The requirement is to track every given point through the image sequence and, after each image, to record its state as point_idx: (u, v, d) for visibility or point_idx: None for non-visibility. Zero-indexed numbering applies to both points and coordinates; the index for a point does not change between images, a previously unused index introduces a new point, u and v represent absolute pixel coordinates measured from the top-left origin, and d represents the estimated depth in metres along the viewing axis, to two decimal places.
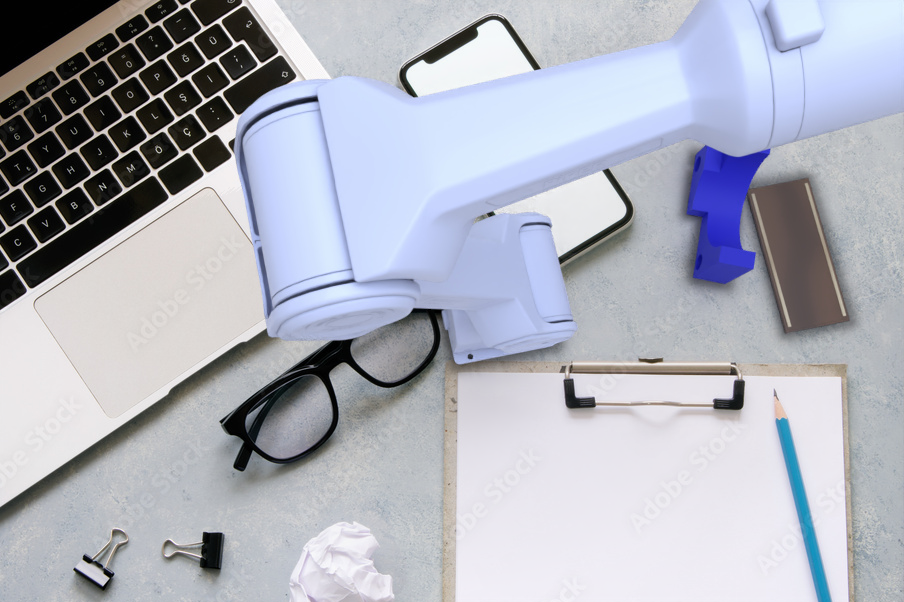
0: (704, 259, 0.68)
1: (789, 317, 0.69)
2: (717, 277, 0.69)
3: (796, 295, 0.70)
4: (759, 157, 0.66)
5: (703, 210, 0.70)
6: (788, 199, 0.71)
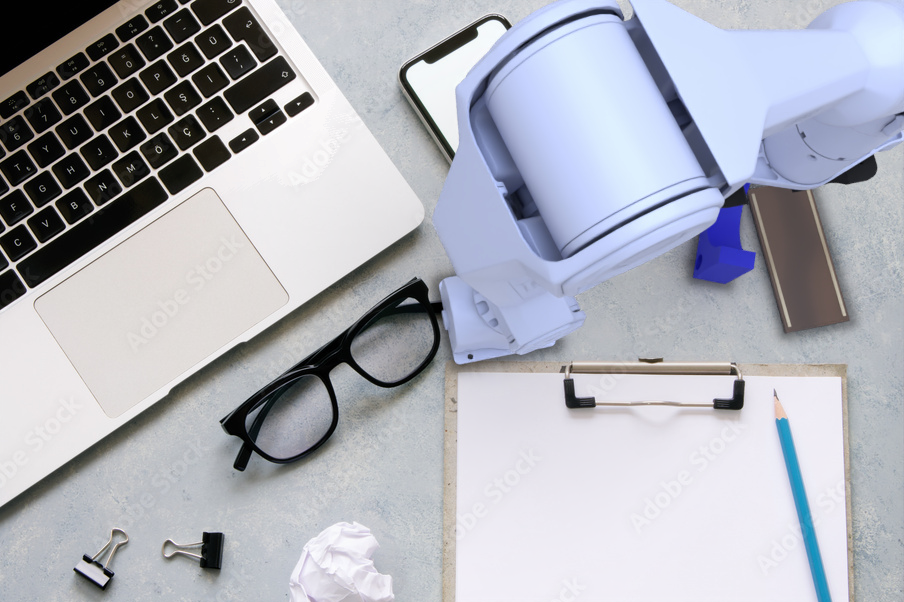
0: (704, 259, 0.68)
1: (789, 317, 0.69)
2: (717, 277, 0.69)
3: (796, 295, 0.70)
4: None
5: None
6: (788, 199, 0.71)
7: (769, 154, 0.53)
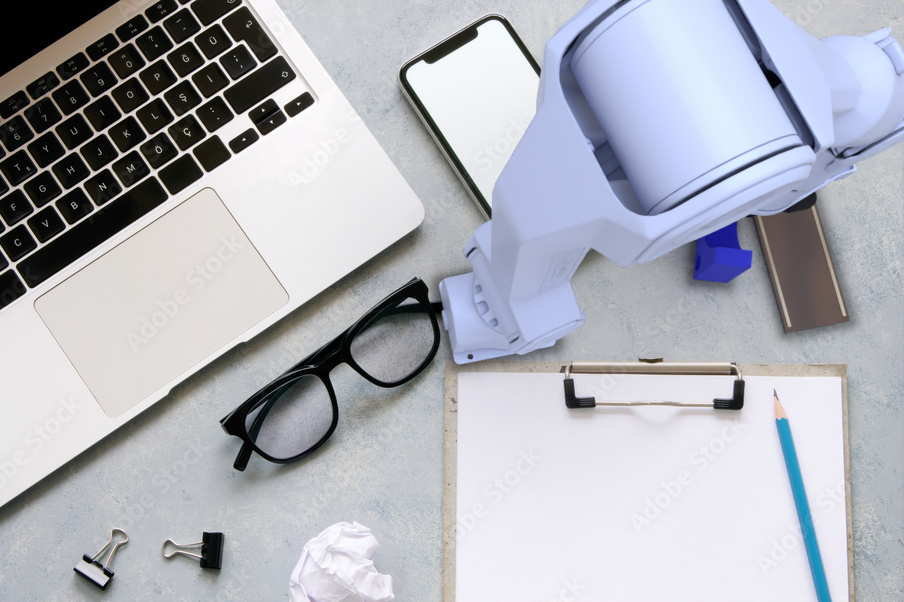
0: (702, 260, 0.68)
1: (789, 317, 0.69)
2: (717, 277, 0.69)
3: (796, 295, 0.70)
4: None
5: None
6: None
7: None
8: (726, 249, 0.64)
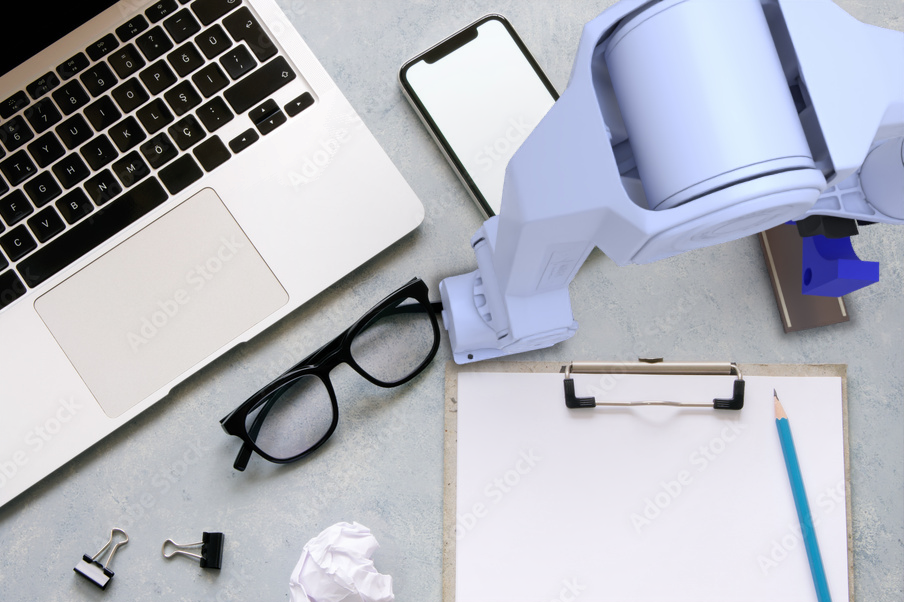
0: (815, 273, 0.61)
1: (789, 317, 0.69)
2: (831, 292, 0.61)
3: (796, 295, 0.70)
4: None
5: None
6: None
7: (866, 189, 0.52)
8: (849, 261, 0.57)
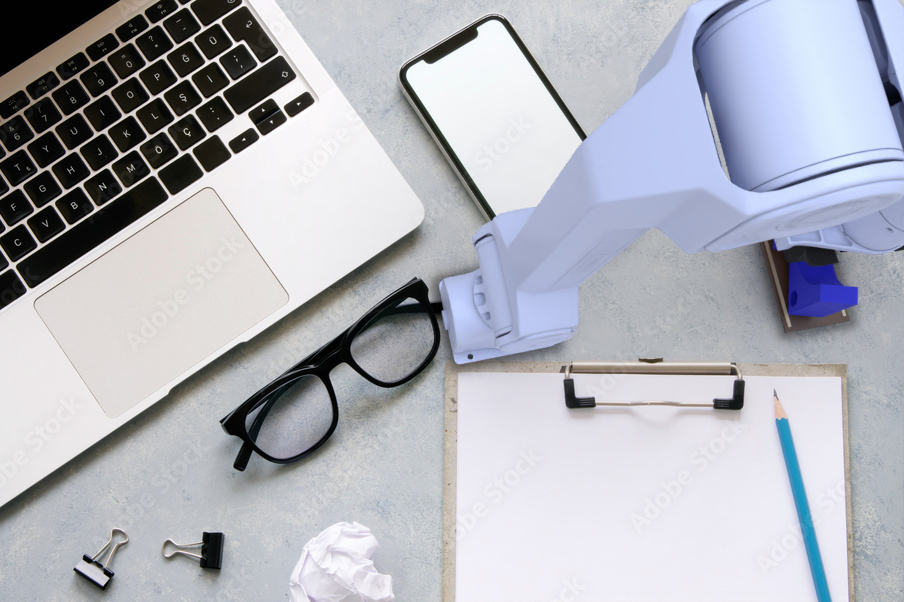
0: (800, 296, 0.66)
1: (789, 317, 0.69)
2: (815, 313, 0.67)
3: None
4: None
5: None
6: None
7: (844, 222, 0.58)
8: (830, 286, 0.63)
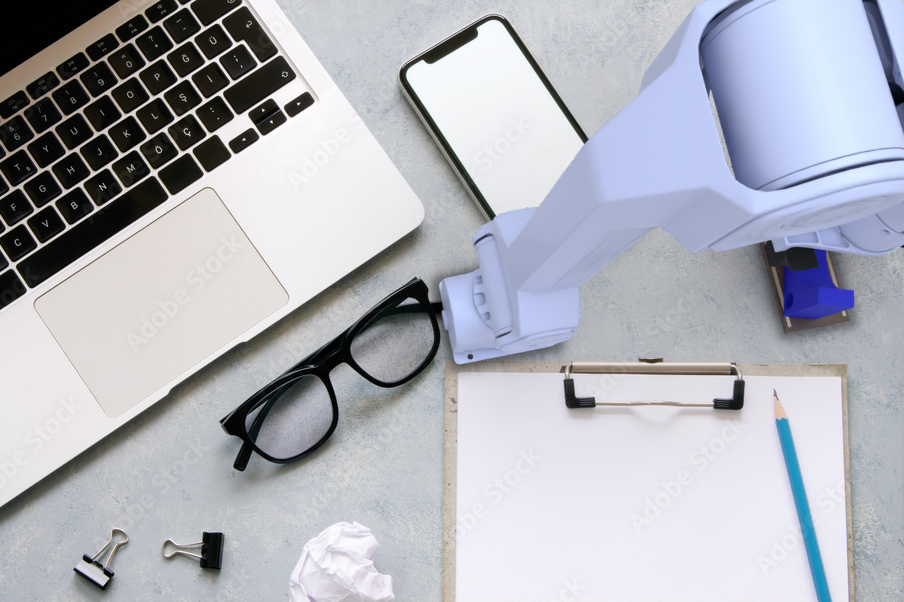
0: (796, 298, 0.67)
1: (789, 317, 0.69)
2: (810, 315, 0.68)
3: None
4: None
5: None
6: None
7: (841, 224, 0.58)
8: (828, 289, 0.64)
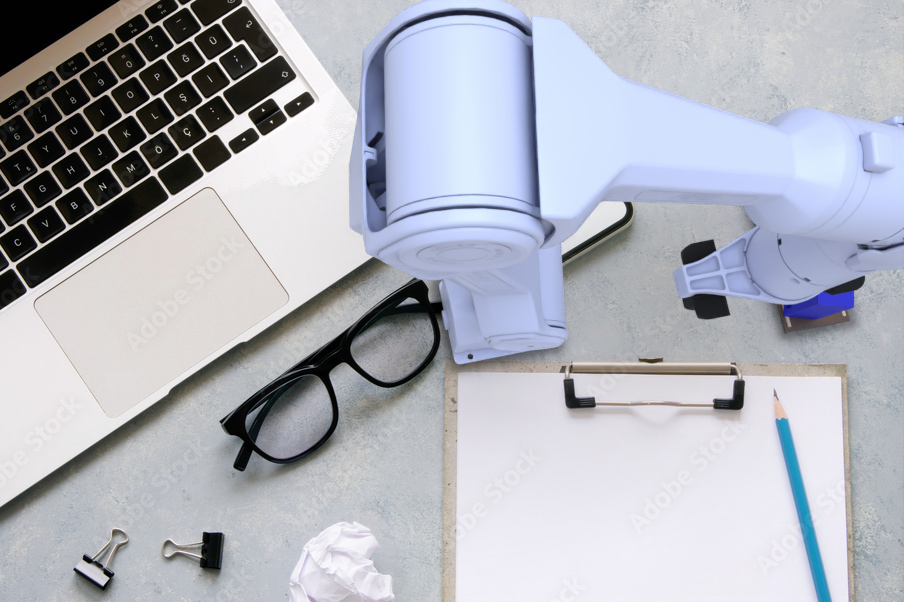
0: None
1: (789, 317, 0.69)
2: (810, 315, 0.68)
3: None
4: None
5: None
6: None
7: (751, 269, 0.51)
8: None
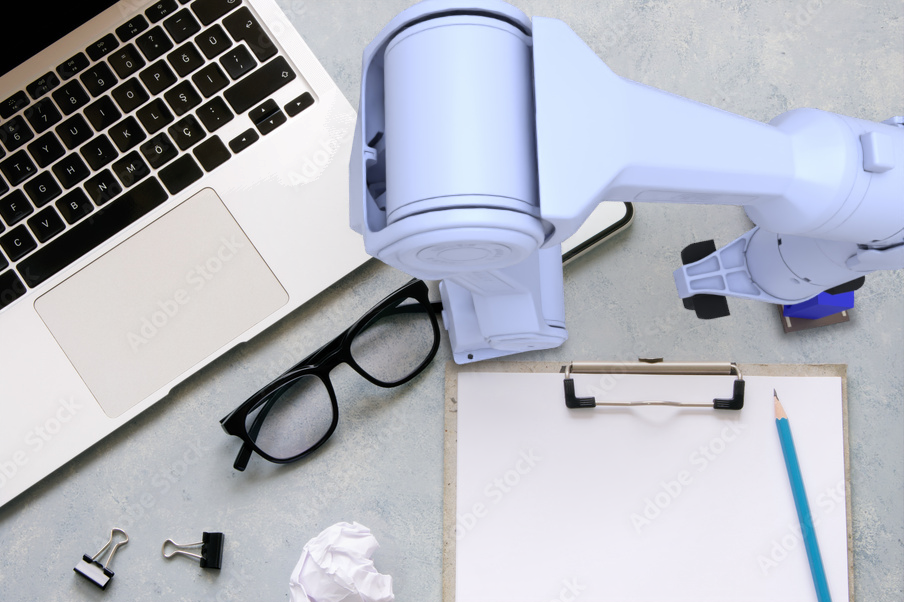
0: None
1: (789, 317, 0.69)
2: (810, 315, 0.68)
3: None
4: None
5: None
6: None
7: (751, 269, 0.51)
8: None
